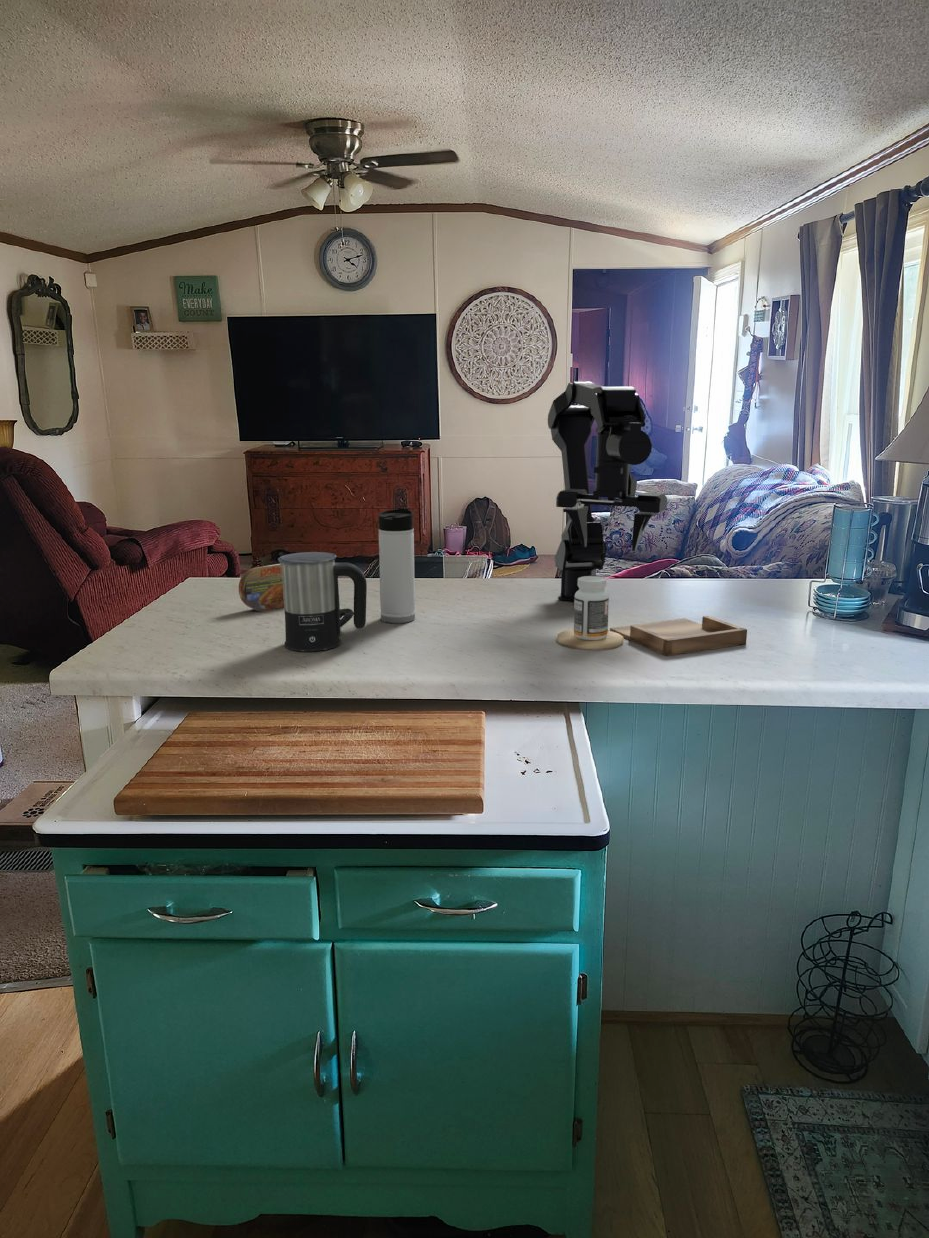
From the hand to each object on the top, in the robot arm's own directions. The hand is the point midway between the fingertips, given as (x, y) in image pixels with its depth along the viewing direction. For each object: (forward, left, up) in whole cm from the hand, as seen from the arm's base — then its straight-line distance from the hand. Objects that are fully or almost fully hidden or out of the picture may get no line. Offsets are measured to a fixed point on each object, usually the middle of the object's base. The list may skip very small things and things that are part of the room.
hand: (609, 548), depth 157 cm
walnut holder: (+14, -7, -13) cm, 21 cm away
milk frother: (-39, -34, -13) cm, 54 cm away
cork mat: (+2, -15, -13) cm, 20 cm away
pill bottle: (+2, -15, -13) cm, 20 cm away
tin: (-60, -19, -13) cm, 64 cm away
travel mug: (-34, -17, -13) cm, 40 cm away
